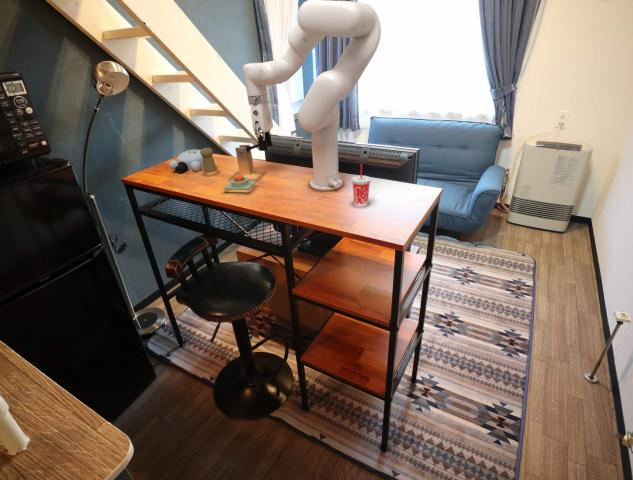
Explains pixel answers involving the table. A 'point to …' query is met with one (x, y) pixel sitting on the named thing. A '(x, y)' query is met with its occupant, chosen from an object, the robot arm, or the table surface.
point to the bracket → (244, 160)
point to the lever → (254, 146)
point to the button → (239, 178)
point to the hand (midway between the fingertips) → (265, 147)
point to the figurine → (187, 161)
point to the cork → (208, 160)
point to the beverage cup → (361, 190)
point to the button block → (239, 185)
